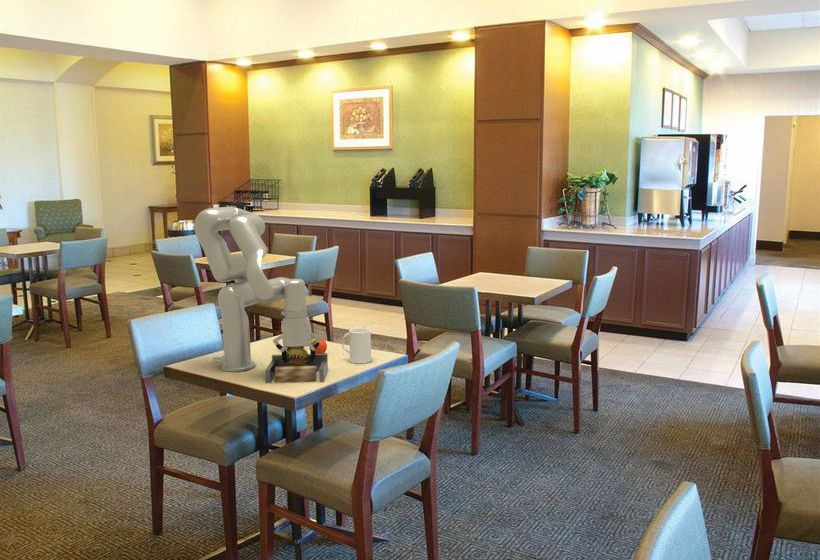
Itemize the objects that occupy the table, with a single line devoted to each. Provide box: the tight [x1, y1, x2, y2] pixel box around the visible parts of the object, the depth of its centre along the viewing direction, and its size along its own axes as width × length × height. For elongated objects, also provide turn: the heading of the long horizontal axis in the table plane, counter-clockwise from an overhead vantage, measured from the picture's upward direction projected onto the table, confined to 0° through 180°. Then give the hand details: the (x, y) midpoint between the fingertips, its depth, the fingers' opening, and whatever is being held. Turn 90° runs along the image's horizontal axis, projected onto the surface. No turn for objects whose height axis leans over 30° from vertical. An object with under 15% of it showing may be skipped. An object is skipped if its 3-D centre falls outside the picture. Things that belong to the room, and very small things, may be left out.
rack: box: [264, 353, 329, 384], centre depth 247 cm, size 20×15×6 cm
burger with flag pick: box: [286, 347, 309, 366], centre depth 247 cm, size 8×7×12 cm
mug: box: [341, 327, 373, 365], centre depth 265 cm, size 12×8×12 cm
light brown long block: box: [273, 366, 318, 383], centre depth 241 cm, size 14×3×5 cm, turn 92°
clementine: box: [308, 338, 328, 354], centre depth 274 cm, size 8×7×7 cm
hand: (299, 361), depth 247 cm, fingers open, 9 cm apart
